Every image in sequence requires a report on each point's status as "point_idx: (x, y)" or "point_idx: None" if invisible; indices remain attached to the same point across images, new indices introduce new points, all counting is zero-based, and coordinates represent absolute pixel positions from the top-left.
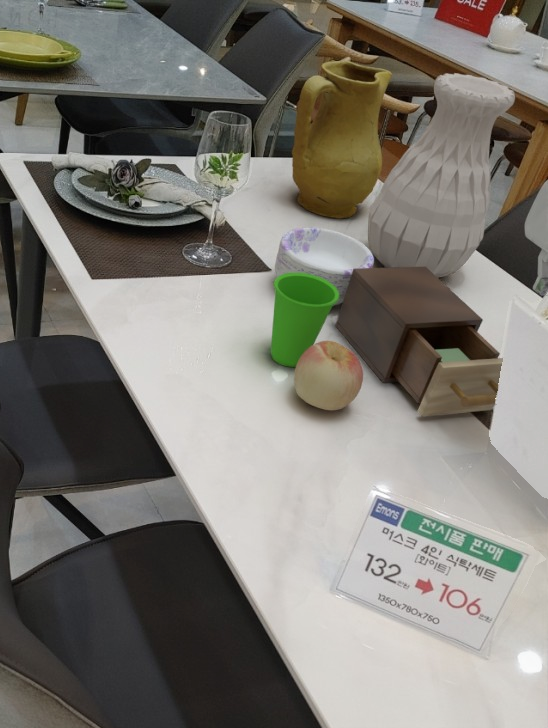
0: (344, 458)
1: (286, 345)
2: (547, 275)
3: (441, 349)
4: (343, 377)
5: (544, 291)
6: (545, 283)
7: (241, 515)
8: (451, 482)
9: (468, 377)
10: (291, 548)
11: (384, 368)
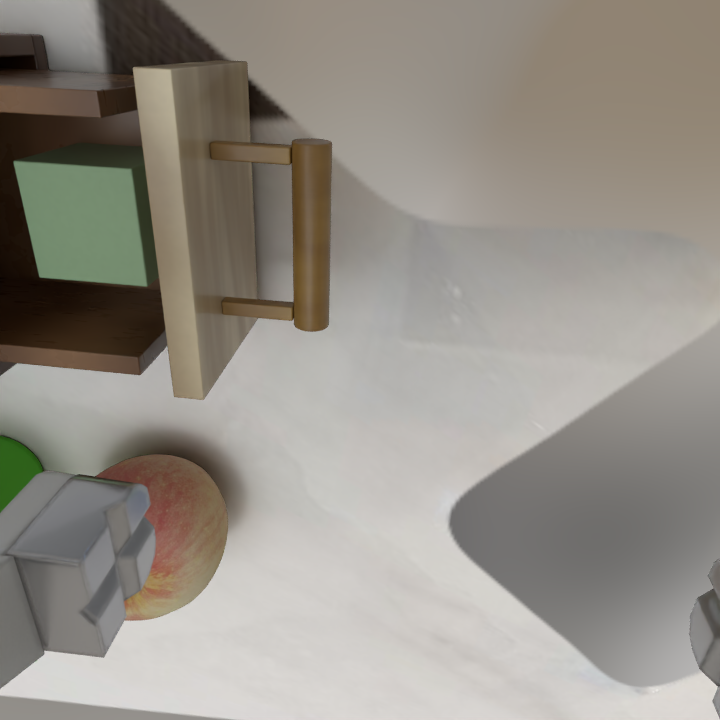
0: (359, 531)
1: None
2: (12, 627)
3: (32, 238)
4: (193, 580)
5: (141, 563)
6: (111, 642)
7: (450, 713)
8: (493, 374)
9: (211, 267)
10: (539, 694)
11: None
